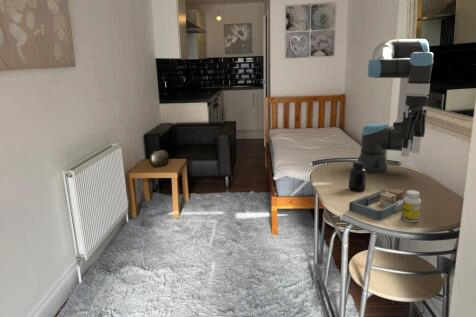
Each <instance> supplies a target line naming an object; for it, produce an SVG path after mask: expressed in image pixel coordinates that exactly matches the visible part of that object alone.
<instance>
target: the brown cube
mask: <svg viewBox="0 0 476 317" xmlns="http://www.w3.org/2000/svg"><path fill="white" fill-rule="evenodd" d="M388 193H391V194H395V195H396V202H397V201H399V200H402V199H404V198H405V197H404V195H405V190H400V189H397V188H393V189H390V190H389V191H388Z"/></svg>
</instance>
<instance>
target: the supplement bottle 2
mask: <svg viewBox="0 0 476 317" xmlns="http://www.w3.org/2000/svg"><path fill="white" fill-rule="evenodd" d="M405 195H406V196H405V197H403V199H404V200H403V208H402V210H401V219H402V220H404V221H405V222H409V223H417V222H419V220H420V217H421V216H420V215H421V206H422V199H421V198H420V196H421V194H420V192H419V191H418V190H414V189H413V190H411V189H409V190H407V191H406V194H405Z"/></svg>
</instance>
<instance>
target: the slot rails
mask: <svg viewBox="0 0 476 317" xmlns="http://www.w3.org/2000/svg"><path fill="white" fill-rule="evenodd" d="M385 192H388V193H389V191H388V190H384V189H382V190H380V191H377V192H374V193H372V194H370V195H368V196H369V198H367V199H366V205H365V206H367V207H369V206H370V205H372V204H375V203H377V202H380V196H381V194H383V193H385ZM403 200H404V198H403V199H402V200H399V201H397V202H395V203H393V204H397V206H395V207H394V208H393V214H395V213H398V212H399V211H402V208H403ZM393 214H392V215H393Z"/></svg>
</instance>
